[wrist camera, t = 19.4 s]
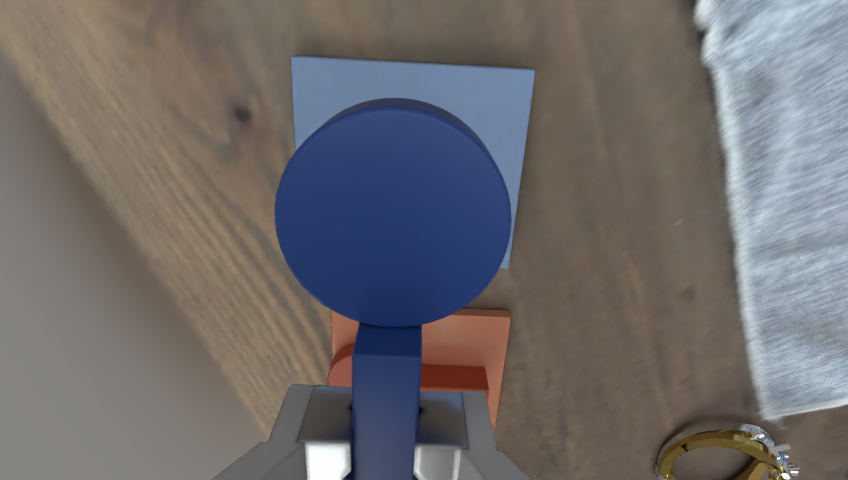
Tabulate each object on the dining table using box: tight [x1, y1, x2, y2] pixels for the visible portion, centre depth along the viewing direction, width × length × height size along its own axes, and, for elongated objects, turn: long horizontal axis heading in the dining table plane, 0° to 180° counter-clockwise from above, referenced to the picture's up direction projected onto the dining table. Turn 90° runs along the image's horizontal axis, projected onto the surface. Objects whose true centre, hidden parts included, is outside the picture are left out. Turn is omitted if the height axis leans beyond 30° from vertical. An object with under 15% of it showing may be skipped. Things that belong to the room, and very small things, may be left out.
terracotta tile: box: [331, 308, 511, 427], centre depth 28 cm, size 8×10×1 cm
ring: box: [654, 423, 800, 480], centre depth 30 cm, size 7×3×8 cm
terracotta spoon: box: [328, 343, 489, 401], centre depth 27 cm, size 9×4×2 cm, turn 87°
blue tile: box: [291, 56, 536, 268], centre depth 23 cm, size 10×11×1 cm
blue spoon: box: [275, 98, 512, 480], centre depth 9 cm, size 9×4×2 cm, turn 177°
